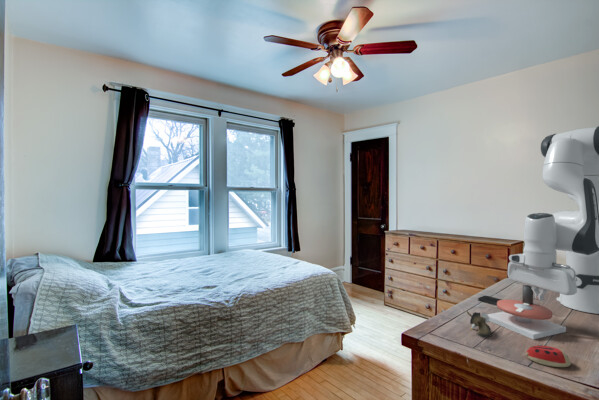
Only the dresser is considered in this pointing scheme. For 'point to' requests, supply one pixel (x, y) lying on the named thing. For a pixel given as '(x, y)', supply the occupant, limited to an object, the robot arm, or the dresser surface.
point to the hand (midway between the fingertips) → (539, 299)
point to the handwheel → (525, 306)
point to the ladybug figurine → (548, 356)
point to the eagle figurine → (480, 324)
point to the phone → (489, 300)
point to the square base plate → (526, 325)
